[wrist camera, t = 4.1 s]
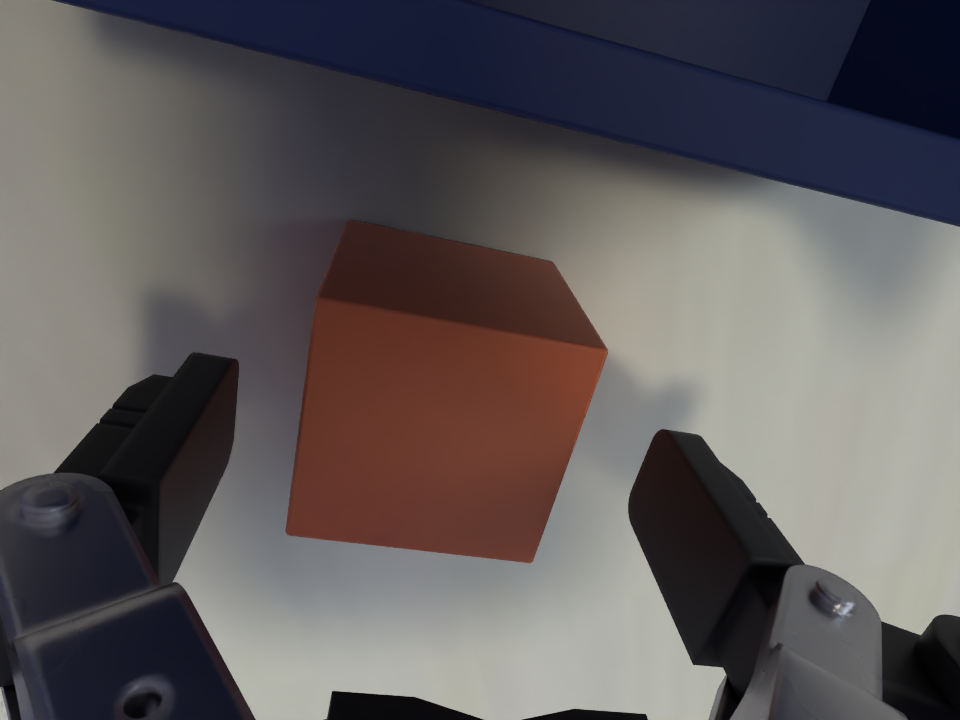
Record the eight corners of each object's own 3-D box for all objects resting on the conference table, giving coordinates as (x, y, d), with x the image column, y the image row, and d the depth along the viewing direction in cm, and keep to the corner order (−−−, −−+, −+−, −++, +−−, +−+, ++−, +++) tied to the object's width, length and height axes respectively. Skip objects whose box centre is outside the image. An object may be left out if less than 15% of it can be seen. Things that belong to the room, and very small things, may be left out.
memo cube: (320, 402, 16) (284, 537, 12) (347, 218, 14) (314, 296, 10) (503, 431, 17) (532, 564, 13) (554, 261, 15) (610, 350, 11)
